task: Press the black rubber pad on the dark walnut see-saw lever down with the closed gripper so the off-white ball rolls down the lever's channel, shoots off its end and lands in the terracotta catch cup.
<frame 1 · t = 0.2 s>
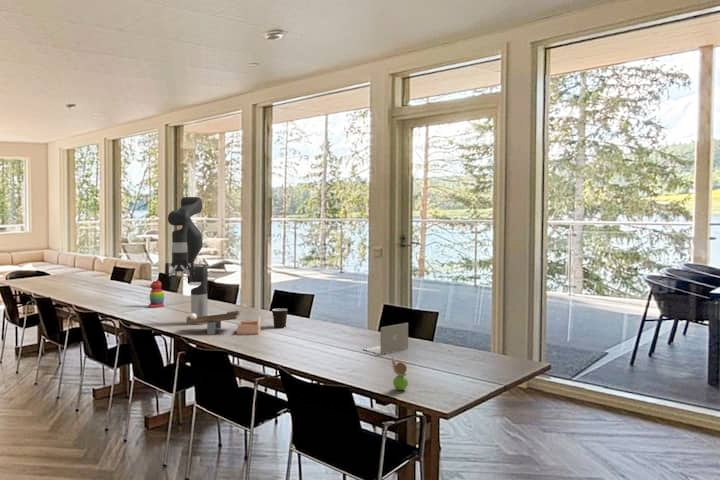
hand: (180, 283, 292), 29 cm above the table, tool pointing down, fingers open, 8 cm apart
stacking bear: (156, 307, 396), on the table
catch cup: (248, 332, 313), on the table
coffee mug: (280, 327, 329), on the table
snail figurine: (399, 390, 214), on the table
laptop: (385, 350, 276), on the table
ball: (192, 316, 311), point 9 cm above the table, tilted 21°, touching lever
lever: (213, 317, 315), point 8 cm above the table, hinge at 6.0°, touching ball
lever stand: (214, 331, 316), on the table
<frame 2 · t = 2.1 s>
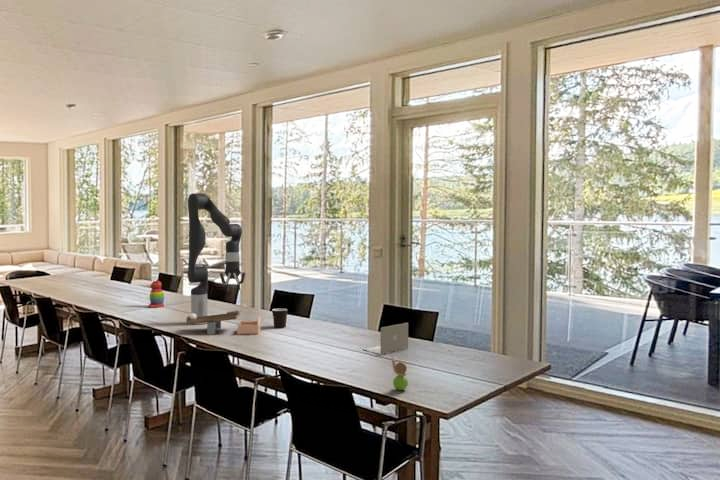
hand: (232, 291, 319), 21 cm above the table, tool pointing down, fingers open, 5 cm apart
nothing on the table moved.
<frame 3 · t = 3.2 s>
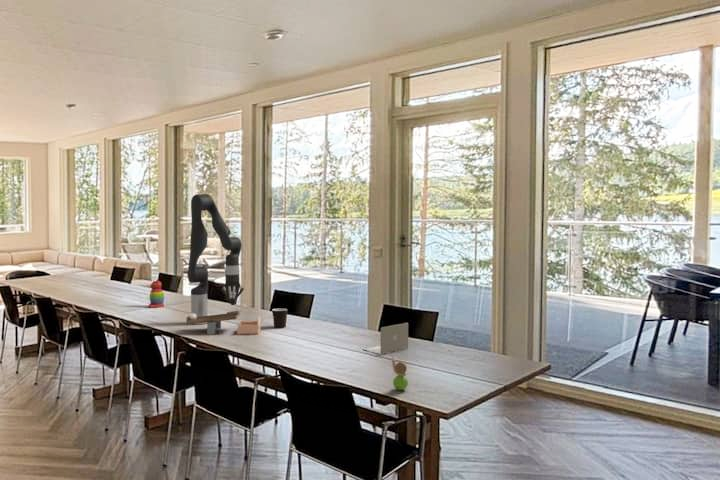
hand: (232, 304, 319), 14 cm above the table, tool pointing down, fingers closed
nothing on the table moved.
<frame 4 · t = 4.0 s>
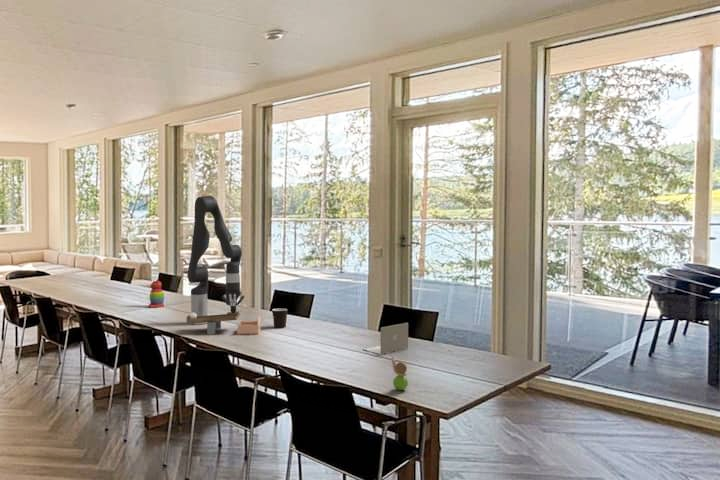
hand: (233, 312, 320), 9 cm above the table, tool pointing down, fingers closed
lever: (213, 317, 315), point 8 cm above the table, hinge at 4.0°, touching ball, gripper
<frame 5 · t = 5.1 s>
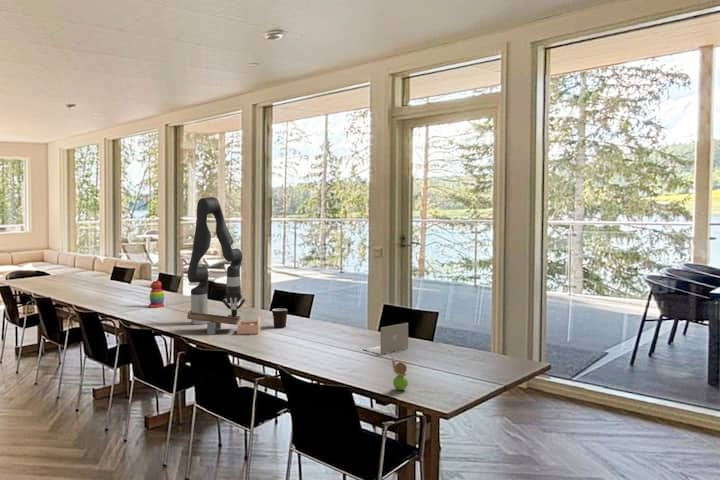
hand: (234, 316, 320), 7 cm above the table, tool pointing down, fingers closed
ball: (252, 327, 313), point 3 cm above the table, tilted 157°
lever: (214, 317, 315), point 8 cm above the table, hinge at -7.6°, touching gripper
everything else where it was.
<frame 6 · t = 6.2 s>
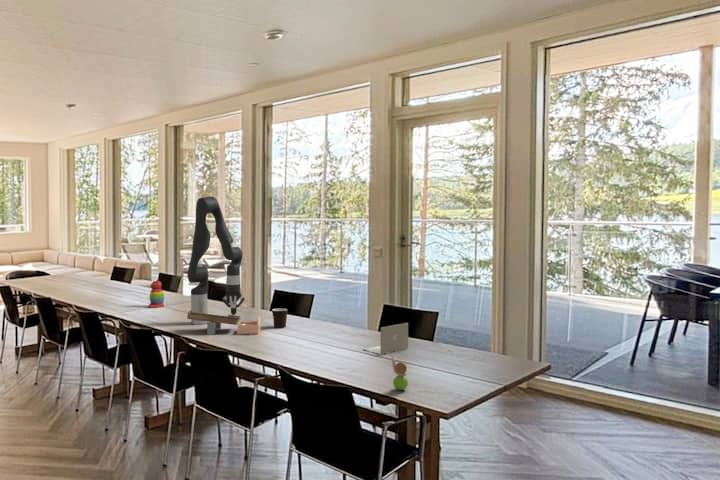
hand: (233, 314, 320), 8 cm above the table, tool pointing down, fingers closed
ball: (243, 327, 313), point 3 cm above the table, tilted 39°, touching catch cup
lever: (214, 317, 315), point 8 cm above the table, hinge at -7.7°
everything else where it was.
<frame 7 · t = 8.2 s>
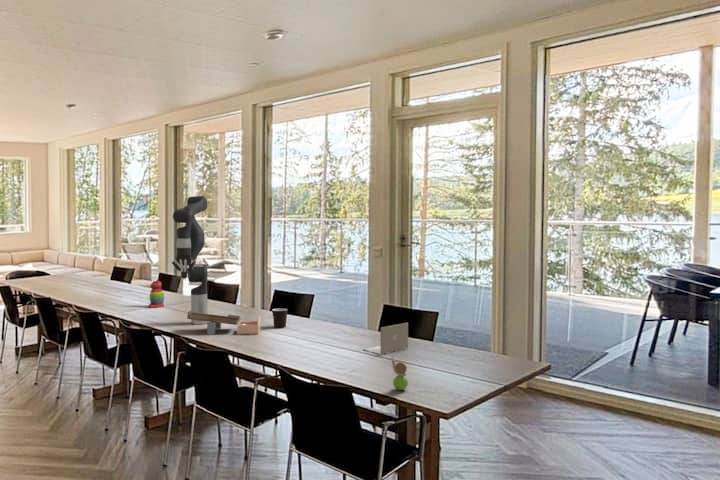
hand: (184, 278, 316), 29 cm above the table, tool pointing down, fingers closed
ball: (243, 327, 313), point 3 cm above the table, tilted 45°, touching catch cup
everything else where it was.
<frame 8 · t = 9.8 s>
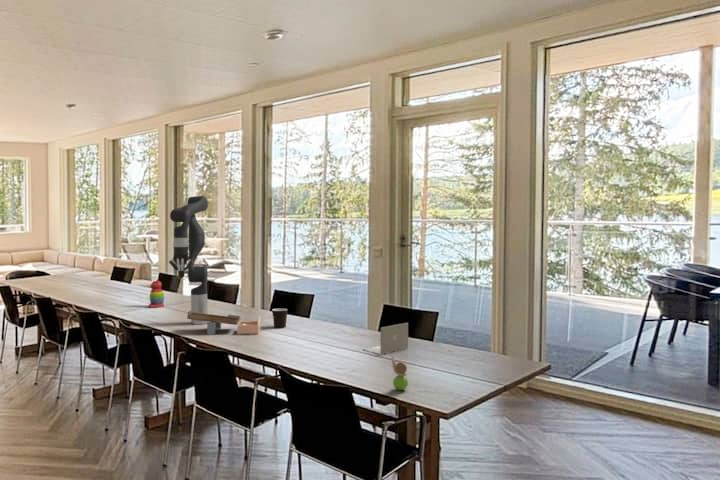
hand: (181, 277, 316), 29 cm above the table, tool pointing down, fingers closed
nothing on the table moved.
at the end: ball inside the target area on the catch cup (2.6 cm from its centre), point 2.6 cm above the catch cup's base; lever at -8° (first picture: +6°) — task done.
